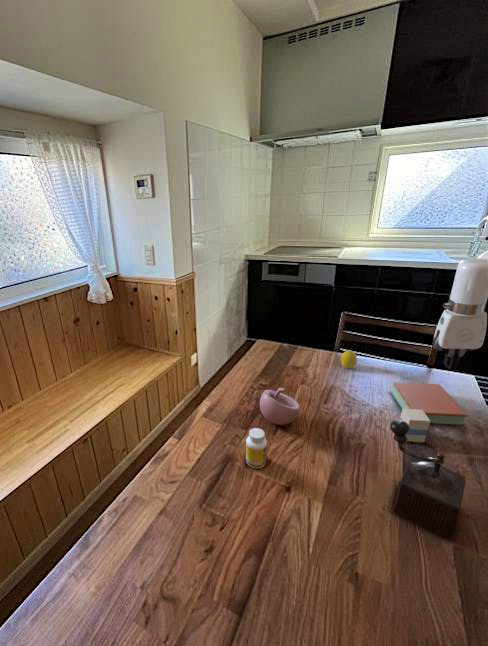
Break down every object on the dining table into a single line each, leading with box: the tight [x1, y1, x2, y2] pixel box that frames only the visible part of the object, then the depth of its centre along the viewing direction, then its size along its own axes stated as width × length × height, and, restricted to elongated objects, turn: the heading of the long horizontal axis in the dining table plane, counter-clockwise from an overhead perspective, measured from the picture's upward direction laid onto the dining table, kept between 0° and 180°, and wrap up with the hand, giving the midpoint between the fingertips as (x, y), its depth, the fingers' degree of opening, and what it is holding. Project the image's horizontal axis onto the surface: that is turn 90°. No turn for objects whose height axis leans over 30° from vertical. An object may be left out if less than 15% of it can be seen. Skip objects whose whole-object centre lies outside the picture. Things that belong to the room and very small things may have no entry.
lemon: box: [340, 349, 358, 370], centre depth 129 cm, size 6×6×8 cm
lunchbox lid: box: [393, 382, 468, 418], centre depth 104 cm, size 16×14×1 cm
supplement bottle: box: [245, 427, 268, 469], centre depth 89 cm, size 5×5×10 cm
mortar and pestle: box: [259, 387, 301, 426], centre depth 103 cm, size 12×12×11 cm
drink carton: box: [399, 408, 431, 443], centre depth 94 cm, size 5×5×8 cm
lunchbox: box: [391, 384, 466, 426], centre depth 105 cm, size 16×14×4 cm
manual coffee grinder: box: [389, 419, 466, 540], centre depth 73 cm, size 16×11×18 cm
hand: (449, 367), depth 96 cm, fingers closed
